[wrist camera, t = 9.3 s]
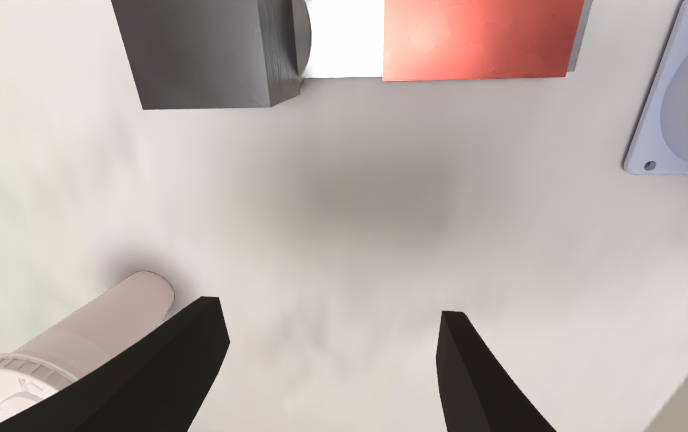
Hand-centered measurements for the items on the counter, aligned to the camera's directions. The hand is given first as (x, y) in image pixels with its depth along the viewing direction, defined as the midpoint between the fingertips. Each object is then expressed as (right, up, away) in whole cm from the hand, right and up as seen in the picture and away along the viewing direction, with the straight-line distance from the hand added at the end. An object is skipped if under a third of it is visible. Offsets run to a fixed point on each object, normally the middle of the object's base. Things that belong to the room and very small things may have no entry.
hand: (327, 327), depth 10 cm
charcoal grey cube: (-4, +12, +4) cm, 13 cm away
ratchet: (+2, +13, +5) cm, 14 cm away
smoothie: (-14, -2, +15) cm, 21 cm away
